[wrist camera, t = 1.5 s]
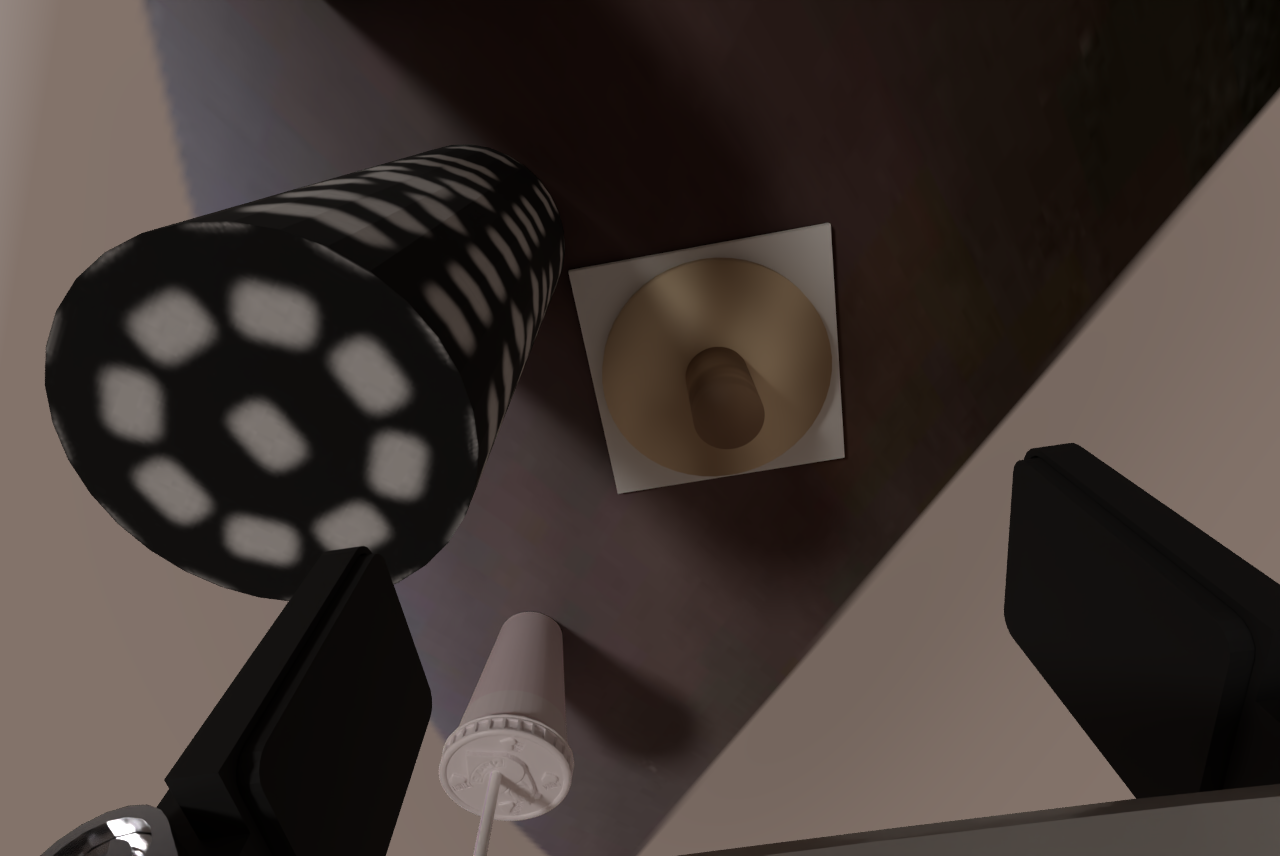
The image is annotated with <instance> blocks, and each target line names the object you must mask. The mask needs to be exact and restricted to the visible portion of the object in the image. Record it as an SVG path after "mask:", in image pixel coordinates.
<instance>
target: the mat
mask: <svg viewBox="0 0 1280 856" xmlns="http://www.w3.org/2000/svg"><path fill="white" fill-rule="evenodd" d="M707 258H735V259H742V260H747V261H751V262H754V263H758V264H761V265H763V266H765V267H768V268H770V269H772V270H774V271H776V272H778V273H779V274H781V275H782V276H784V277H786V278H787V279H788V280H790V281H791V282H792V283H793V284H794V285H795V286H797V287H798V288H799V289H800V290H801V291H802V293H803V294H804V295H805V296H806V297H807V298H808V299H809V301H810V302H811V303H812V304H813V306H814V307H815V309H816V310H817V312H818V314H819V315H820V317H821V319H822V321H823V324H824V326H825V328H826V331H827V334H828V338H829V341H830V346H831V354H832V374H831V380H830V386H829V390H828V393H827V397H826V400H825V402H824V404H823V406H822V409H821V411H820V413H819V415H818V416H817V418H816V420H815V421H814V423H813V424H812V426H811V427H810V428H809V429H808V431H807V432H806V433H805V435H804V436H803V437H802V438H801V439H800V440H799V441H798V442H797V443H796V444H795V445H794V446H792V447H791V448H790V449H789V450H787V451H786V452H785V453H783V454H782V455H780V456H779V457H777V458H776V459H774V460H772V461H771V462H768V463H766V464H764V465H762V466H760V467H758V468H755V469H752V470H749V471H746V472H742V473H738V474H733V475H739V474H745V473H751V472H758V471H764V470H770V469H777V468H783V467H789V466H795V465H802V464H808V463H814V462H820V461H827V460H833V459H839V458H845V455H844V438H843V421H842V405H841V388H840V372H839V355H838V338H837V322H836V305H835V289H834V272H833V255H832V239H831V224H830V223H824V224H819V225H813V226H808V227H802V228H797V229H791V230H786V231H780V232H775V233H769V234H764V235H758V236H753V237H747V238H742V239H736V240H731V241H726V242H720V243H715V244H709V245H704V246H698V247H693V248H687V249H682V250H676V251H671V252H665V253H660V254H654V255H649V256H643V257H638V258H632V259H627V260H621V261H616V262H610V263H605V264H599V265H594V266H589V267H583V268H578V269H572V270H569V272H568V273H569V277H570V282H571V286H572V291H573V295H574V300H575V304H576V309H577V313H578V318H579V322H580V326H581V331H582V335H583V340H584V344H585V349H586V353H587V358H588V362H589V367H590V371H591V376H592V380H593V385H594V389H595V394H596V398H597V402H598V407H599V411H600V416H601V420H602V425H603V429H604V434H605V438H606V443H607V447H608V452H609V456H610V461H611V465H612V469H613V474H614V478H615V483H616V487H617V492H618V494H620V493H626V492H632V491H639V490H645V489H651V488H658V487H664V486H670V485H676V484H683V483H689V482H695V481H701V480H708V479H714V478H720V477H726V476H733V475H726V476H697V475H689V474H685V473H681V472H677V471H674V470H671V469H669V468H666V467H663V466H661V465H659V464H658V463H656V462H654V461H652V460H650V459H649V458H647V457H646V456H645V455H643V454H642V453H640V452H639V451H638V450H637V449H636V448H635V447H634V446H632V445H631V444H630V443H629V442H628V440H627V439H626V438H625V437H624V436H623V434H622V433H621V432H620V430H619V429H618V427H617V425H616V424H615V422H614V421H613V418H612V416H611V414H610V412H609V409H608V407H607V403H606V400H605V396H604V390H603V383H602V365H603V357H604V350H605V345H606V342H607V338H608V335H609V332H610V330H611V328H612V325H613V323H614V321H615V319H616V318H617V316H618V314H619V313H620V311H621V309H622V308H623V307H624V305H625V304H626V303H627V302H628V300H629V299H630V298H631V297H632V296H633V295H634V294H635V293H636V292H637V291H638V290H639V289H640V288H641V287H642V286H643V285H645V284H646V283H647V282H649V281H650V280H651V279H653V278H654V277H655V276H657V275H659V274H661V273H663V272H665V271H666V270H668V269H670V268H673V267H676V266H678V265H681V264H683V263H687V262H691V261H695V260H699V259H707Z"/></svg>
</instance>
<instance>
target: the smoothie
mask: <svg viewBox="0 0 1280 856" xmlns="http://www.w3.org/2000/svg"><path fill="white" fill-rule="evenodd" d="M573 768H574V759H573V753H572V750H571V749H570V747H569V745H568V743H567V728H566V709H565V686H564V662H563V639H562V631H561V629H560V627H559V625H558V624H557V623H556V622H555V621H554V620H553V619H552V618H550V617H548V616H546V615H544V614H541V613H537V612H522V613H518V614H516V615H513V616H512V617H510V618H509V619H508V620H507V621H506V622H505V623H504V624H503V626H502V628H501V631H500V633H499V635H498V638H497V640H496V642H495V645H494V647H493V649H492V651H491V654H490V656H489V658H488V661H487V663H486V665H485V668H484V670H483V672H482V674H481V677H480V679H479V681H478V684H477V686H476V688H475V691H474V693H473V695H472V698H471V700H470V702H469V704H468V707H467V709H466V711H465V713H464V715H463V718H462V720H461V723H460V725H459V727H458V728H457V729H456V730H455V731H454V732H453V733H452V734H451V735H450V736H449V737H448V739H447V741H446V743H445V745H444V747H443V751H442V759H441V762H440V765H439V779H440V782H441V785H442V787H443V789H444V790H445V792H446V794H447V795H448V796H449V797H450V798H451V799H452V800H453V801H454V802H455V803H456V804H458V805H459V806H460V807H462V808H463V809H465V810H467V811H469V812H471V813H473V814H476V815H478V816H481V820H480V825H479V829H478V834H477V839H476V844H475V849H474V853H473V856H486V855H487V850H488V845H489V840H490V835H491V829H492V824H493V820H503V821H518V820H525V819H530V818H534V817H537V816H540V815H543V814H544V813H546V812H548V811H550V810H552V809H553V808H555V807H556V806H557V805H558V804H560V803H561V802H562V800H563V799H564V798H565V797H566V795H567V793H568V791H569V789H570V785H571V777H572V773H573Z"/></svg>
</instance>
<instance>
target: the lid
mask: <svg viewBox="0 0 1280 856" xmlns="http://www.w3.org/2000/svg"><path fill="white" fill-rule="evenodd" d="M831 374H832V354H831V346H830V341H829V338H828V334H827V331H826V328H825V326H824V324H823V321H822V319H821V317H820V315H819V314H818V312H817V310H816V309H815V307H814V306H813V304H812V303H811V302H810V301H809V299H808V298H807V297H806V296H805V295H804V294H803V293H802V291H801V290H800V289H799V288H798V287H797V286H795V285H794V284H793V283H792V282H791V281H790V280H788V279H787V278H786V277H784V276H782V275H781V274H779V273H778V272H776V271H774V270H772V269H770V268H768V267H765V266H763V265H761V264H758V263H754V262H751V261H747V260H742V259H735V258H707V259H699V260H695V261H691V262H687V263H683V264H681V265H678V266H676V267H673V268H670V269H668V270H666V271H665V272H663V273H661V274H659V275H657V276H655V277H654V278H653V279H651V280H650V281H649V282H647V283H646V284H645V285H643V286H642V287H641V288H640V289H639V290H638V291H637V292H636V293H635V294H634V295H633V296H632V297H631V298H630V299H629V300H628V302H627V303H626V304H625V305H624V307H623V308H622V309H621V311H620V313H619V314H618V316H617V318H616V319H615V321H614V323H613V325H612V328H611V330H610V332H609V335H608V338H607V342H606V345H605V350H604V357H603V365H602V383H603V390H604V396H605V400H606V403H607V407H608V409H609V412H610V414H611V416H612V418H613V421H614V422H615V424H616V425H617V427H618V429H619V430H620V432H621V433H622V434H623V436H624V437H625V438H626V439H627V440H628V442H629V443H630V444H631V445H632V446H634V447H635V448H636V449H637V450H638V451H639V452H640V453H642V454H643V455H645V456H646V457H647V458H649V459H650V460H652V461H654V462H656V463H658V464H659V465H661V466H663V467H666V468H669V469H671V470H674V471H677V472H681V473H685V474H689V475H697V476H726V475H733V474H738V473H742V472H746V471H749V470H752V469H755V468H758V467H760V466H762V465H764V464H766V463H768V462H771V461H772V460H774V459H776V458H777V457H779V456H780V455H782V454H783V453H785V452H786V451H787V450H789V449H790V448H791V447H792V446H794V445H795V444H796V443H797V442H798V441H799V440H800V439H801V438H802V437H803V436H804V435H805V433H806V432H807V431H808V429H809V428H810V427H811V426H812V424H813V423H814V421H815V420H816V418H817V416H818V415H819V413H820V411H821V409H822V406H823V404H824V402H825V400H826V397H827V393H828V390H829V386H830V380H831Z"/></svg>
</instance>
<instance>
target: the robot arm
mask: <svg viewBox="0 0 1280 856" xmlns="http://www.w3.org/2000/svg"><path fill="white" fill-rule="evenodd" d="M1009 529H1010V530H1009V543H1008V559H1007V574H1006V589H1005V604H1004V616H1005V621H1006V625H1007V628H1008V629H1009V632H1010V634H1011V636H1012V637H1013V639H1014V640H1015V641H1016V643H1017V644H1018V645H1019V646H1020V648H1021V649H1022V650H1023V652H1024V653H1025V654H1026V656H1027V657H1028V658H1029V660H1030V661H1031V662H1032V663H1033V665H1034V666H1035V667H1036V668H1037V670H1038V671H1039V673H1040V674H1041V675H1042V676H1043V677H1044V679H1045V680H1046V682H1047V683H1048V684H1049V685H1050V687H1051V688H1052V689H1053V691H1054V692H1055V693H1056V694H1057V696H1058V697H1059V698H1060V700H1061V701H1062V702H1063V704H1064V705H1065V706H1066V707H1067V709H1068V710H1069V712H1070V713H1071V714H1072V715H1073V717H1074V718H1075V719H1076V721H1077V722H1078V723H1079V725H1080V726H1081V727H1082V728H1083V730H1084V731H1085V732H1086V734H1087V735H1088V736H1089V737H1090V739H1091V740H1092V741H1093V743H1094V744H1095V745H1096V747H1097V748H1098V749H1099V751H1100V752H1101V753H1102V755H1103V756H1104V757H1105V758H1106V760H1107V761H1108V762H1109V764H1110V765H1111V766H1112V768H1113V769H1114V770H1115V771H1116V773H1117V774H1118V775H1119V777H1120V778H1121V779H1122V780H1123V782H1124V783H1125V784H1126V786H1127V787H1128V788H1129V790H1130V791H1131V792H1132V794H1133V795H1134V796H1135V797H1136V799H1131V800H1122V801H1115V802H1106V803H1098V804H1089V805H1081V806H1073V807H1065V808H1056V809H1048V810H1040V811H1032V812H1023V813H1015V814H1007V815H999V816H991V817H982V818H974V819H966V820H958V821H949V822H941V823H934V824H925V825H916V826H908V827H900V828H892V829H884V830H876V831H868V832H860V833H852V834H844V835H836V836H829V837H821V838H813V839H806V840H797V841H789V842H781V843H773V844H765V845H757V846H750V847H742V848H735V849H726V850H718V851H711V852H703V853H695V854H687V855H679V856H1280V584H1278V583H1276V582H1275V581H1274V580H1272V579H1271V578H1269V577H1268V576H1267V575H1265V574H1264V573H1262V572H1261V571H1259V570H1258V569H1256V568H1255V567H1253V566H1252V565H1251V564H1249V563H1248V562H1246V561H1245V560H1243V559H1242V558H1241V557H1239V556H1238V555H1236V554H1235V553H1233V552H1232V551H1231V550H1229V549H1228V548H1226V547H1225V546H1223V545H1222V544H1220V543H1219V542H1217V541H1216V540H1215V539H1213V538H1212V537H1210V536H1209V535H1208V534H1206V533H1205V532H1203V531H1202V530H1200V529H1199V528H1197V527H1196V526H1195V525H1193V524H1192V523H1190V522H1189V521H1187V520H1186V519H1184V518H1183V517H1182V516H1180V515H1179V514H1177V513H1176V512H1174V511H1173V510H1172V509H1170V508H1169V507H1167V506H1166V505H1164V504H1163V503H1161V502H1160V501H1158V500H1157V499H1156V498H1154V497H1153V496H1151V495H1150V494H1148V493H1147V492H1145V491H1144V490H1143V489H1141V488H1140V487H1138V486H1137V485H1135V484H1134V483H1133V482H1131V481H1130V480H1128V479H1127V478H1125V477H1124V476H1123V475H1121V474H1120V473H1118V472H1117V471H1115V470H1114V469H1112V468H1111V467H1110V466H1108V465H1107V464H1105V463H1104V462H1102V461H1101V460H1099V459H1098V458H1097V457H1095V456H1094V455H1092V454H1091V453H1089V452H1088V451H1087V450H1085V449H1084V448H1082V447H1081V446H1079V445H1077V444H1075V443H1068V444H1060V445H1055V446H1048V447H1040V448H1033V449H1030V450H1029V451H1028V452H1027V453H1026V455H1025V458H1024V460H1019V461H1018V462H1017V463H1016V464H1015V466H1014V471H1013V484H1012V499H1011V515H1010V528H1009ZM431 711H432V696H431V691H430V687H429V685H428V682H427V679H426V676H425V673H424V670H423V667H422V665H421V662H420V659H419V656H418V653H417V650H416V648H415V645H414V642H413V639H412V636H411V633H410V630H409V628H408V625H407V622H406V619H405V616H404V613H403V610H402V608H401V605H400V602H399V599H398V596H397V593H396V590H395V588H394V585H393V582H392V579H391V576H390V573H389V571H388V568H387V565H386V562H385V560H384V558H383V557H382V555H380V554H378V553H377V554H372V552H371V551H370V550H369V548H368V547H365V546H359V547H352V548H345V549H338V550H331V551H326V552H324V553H323V554H322V555H321V556H320V557H319V559H318V560H317V562H316V563H315V565H314V566H313V567H312V569H311V570H310V572H309V573H308V575H307V576H306V578H305V579H304V580H303V582H302V583H301V585H300V586H299V588H298V589H297V590H296V592H295V593H294V595H293V596H292V598H291V599H290V600H289V602H288V603H287V605H286V606H285V608H284V609H283V610H282V612H281V613H280V615H279V616H278V618H277V619H276V621H275V622H274V623H273V625H272V626H271V628H270V629H269V631H268V632H267V633H266V635H265V636H264V638H263V639H262V641H261V642H260V644H259V645H258V646H257V648H256V649H255V651H254V652H253V653H252V655H251V656H250V658H249V659H248V661H247V662H246V664H245V665H244V666H243V668H242V669H241V671H240V672H239V674H238V675H237V676H236V678H235V679H234V681H233V682H232V684H231V685H230V686H229V688H228V689H227V691H226V692H225V694H224V695H223V696H222V698H221V699H220V701H219V702H218V704H217V705H216V706H215V708H214V709H213V711H212V712H211V714H210V715H209V716H208V718H207V719H206V721H205V722H204V724H203V725H202V727H201V728H200V729H199V731H198V732H197V734H196V735H195V736H194V738H193V739H192V741H191V742H190V744H189V745H188V746H187V748H186V749H185V751H184V752H183V754H182V755H181V757H180V758H179V759H178V761H177V762H176V764H175V765H174V767H173V768H172V769H171V771H170V772H169V774H168V775H167V777H166V778H165V782H166V784H167V786H168V787H169V790H168V791H167V793H166V794H165V796H164V798H163V799H162V800H161V802H160V803H159V805H158V806H157V808H155V807H153V806H150V805H133V806H126V807H123V808H119V809H116V810H113V811H110V812H106V813H104V814H102V815H100V816H98V817H96V818H94V819H92V820H90V821H88V822H86V823H84V824H82V825H80V826H79V827H78V828H76V829H74V830H73V831H71V832H70V833H68V834H67V835H65V836H64V837H62V838H61V839H59V840H58V841H57V842H56V843H54V844H53V845H52V846H51V847H50V848H48V849H47V850H46V851H45V852H44V853H43V854H42V855H40V856H386V853H387V850H388V847H389V843H390V840H391V837H392V834H393V831H394V828H395V825H396V822H397V818H398V816H399V812H400V809H401V806H402V803H403V800H404V797H405V794H406V790H407V787H408V784H409V781H410V778H411V775H412V772H413V769H414V766H415V763H416V759H417V757H418V753H419V750H420V747H421V744H422V741H423V738H424V735H425V732H426V729H427V726H428V722H429V719H430V716H431Z"/></svg>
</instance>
